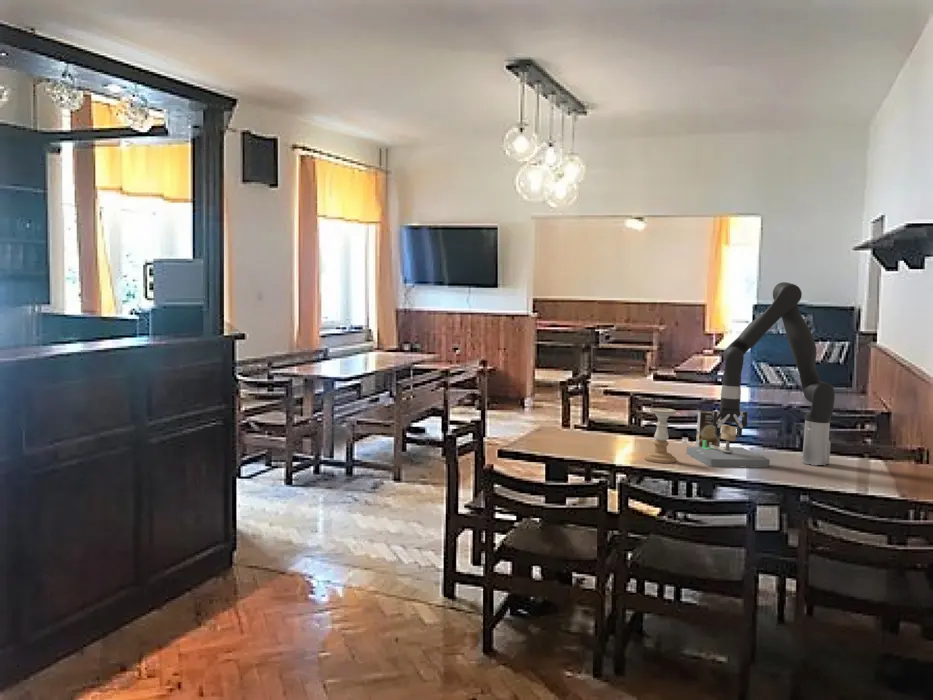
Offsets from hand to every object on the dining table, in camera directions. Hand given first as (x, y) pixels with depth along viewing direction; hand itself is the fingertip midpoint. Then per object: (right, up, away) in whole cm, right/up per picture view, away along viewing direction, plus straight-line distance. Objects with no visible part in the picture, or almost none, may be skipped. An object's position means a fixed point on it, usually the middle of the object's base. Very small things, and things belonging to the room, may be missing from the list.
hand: (728, 436), depth 346 cm
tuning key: (-2, -6, +4) cm, 7 cm away
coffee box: (-2, -8, +24) cm, 25 cm away
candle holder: (-28, -9, -3) cm, 30 cm away
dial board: (0, -10, +1) cm, 10 cm away
